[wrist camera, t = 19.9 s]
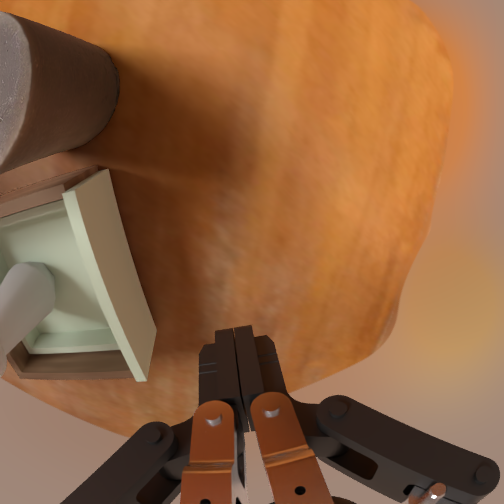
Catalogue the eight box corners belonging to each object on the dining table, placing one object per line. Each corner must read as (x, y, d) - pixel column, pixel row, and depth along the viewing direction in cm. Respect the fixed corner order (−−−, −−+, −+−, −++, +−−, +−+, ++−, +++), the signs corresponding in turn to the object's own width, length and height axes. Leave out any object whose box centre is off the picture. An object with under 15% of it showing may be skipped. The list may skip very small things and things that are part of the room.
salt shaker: (65, 262, 26) (-2, 355, 15) (63, 310, 28) (12, 404, 17) (17, 246, 25) (-60, 323, 13) (18, 293, 27) (-42, 375, 15)
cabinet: (-17, 202, 24) (-56, 227, 18) (97, 164, 25) (62, 183, 19) (41, 339, 32) (20, 378, 26) (148, 330, 33) (137, 377, 26)
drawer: (-12, 206, 24) (-54, 233, 17) (108, 168, 24) (74, 190, 18) (44, 340, 31) (22, 382, 25) (156, 330, 32) (146, 381, 25)
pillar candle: (141, 66, 22) (56, 25, 8) (88, 166, 25) (-17, 226, 11) (57, 30, 19) (-52, -5, 5) (13, 125, 22) (-104, 156, 8)
